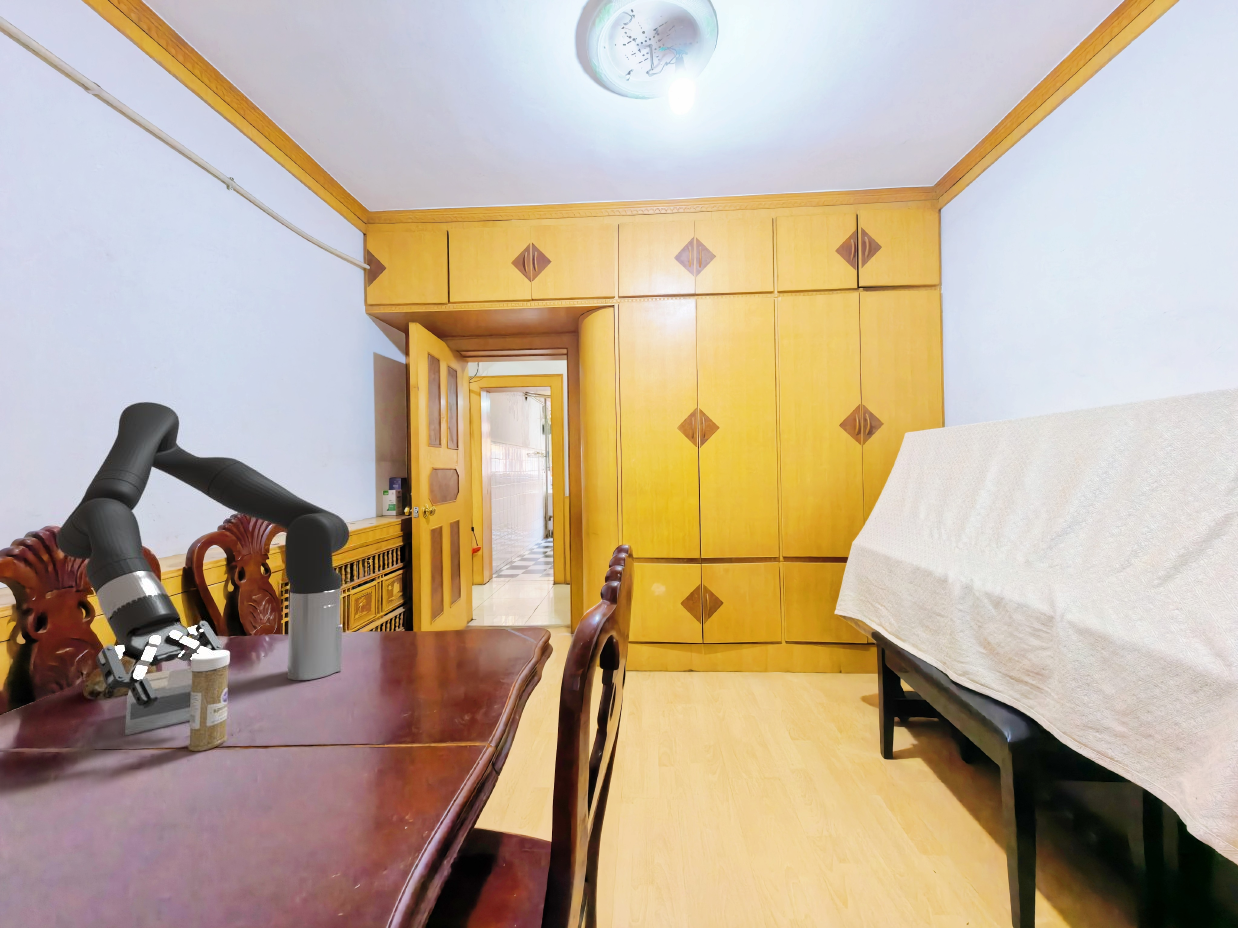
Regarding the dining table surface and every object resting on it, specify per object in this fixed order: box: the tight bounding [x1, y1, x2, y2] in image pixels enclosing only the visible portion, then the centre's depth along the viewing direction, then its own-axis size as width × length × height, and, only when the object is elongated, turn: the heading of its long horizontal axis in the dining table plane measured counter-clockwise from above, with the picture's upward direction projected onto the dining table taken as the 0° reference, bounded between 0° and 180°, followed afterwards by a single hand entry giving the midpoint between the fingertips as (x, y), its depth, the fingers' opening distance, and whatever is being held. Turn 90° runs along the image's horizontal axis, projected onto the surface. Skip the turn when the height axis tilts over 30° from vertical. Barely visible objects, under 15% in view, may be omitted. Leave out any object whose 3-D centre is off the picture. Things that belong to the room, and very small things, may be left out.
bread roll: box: [82, 656, 157, 700], centre depth 96 cm, size 10×10×8 cm
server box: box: [125, 667, 192, 736], centre depth 85 cm, size 12×10×6 cm
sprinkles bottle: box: [188, 649, 231, 752], centre depth 75 cm, size 5×5×14 cm
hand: (184, 691), depth 76 cm, fingers open, 8 cm apart
